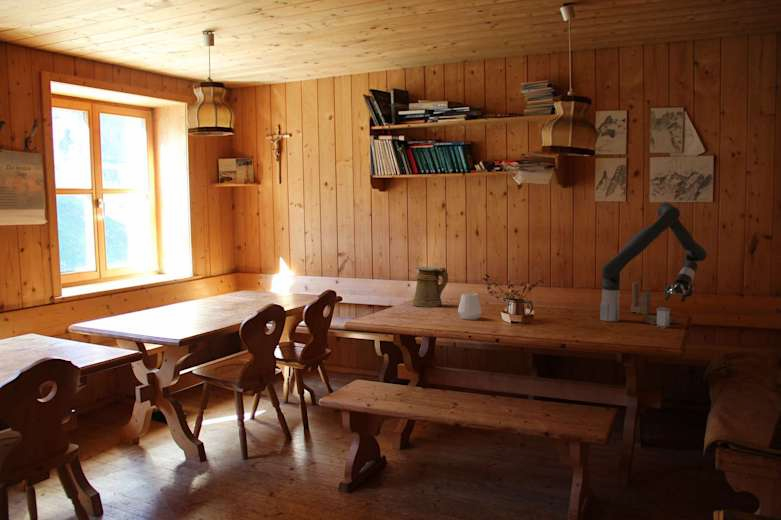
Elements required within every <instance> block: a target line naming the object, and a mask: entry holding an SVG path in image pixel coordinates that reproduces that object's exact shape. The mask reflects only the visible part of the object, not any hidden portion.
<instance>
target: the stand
mask: <svg viewBox="0 0 781 520" xmlns="http://www.w3.org/2000/svg"><path fill="white" fill-rule="evenodd" d="M643 322H646V323H645V324H647V323H650V324H649V325H652V324H657V315H655V316H644V317H642V323H643ZM669 323H674V324H676V318H674V317H672V316H669Z"/></svg>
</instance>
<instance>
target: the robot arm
mask: <svg viewBox="0 0 781 520" xmlns="http://www.w3.org/2000/svg"><path fill="white" fill-rule="evenodd" d="M657 215H658V218H657V219H656V220H655V221H654V222H653V223H652V224H650V225H648V226H646V227H644V228H641V229H640V230H639V231H637V232H636V233H635V234H634V235H633V236H632V237H631V238H629V240H628V241H627V242H626V243H625V244H624V245H623V247H622V248H621V249H620V251H619V252H618V253H617V254H616V255H615V256H613V257H612V258H611V259H610V260H608V261H605V262H604V264H603V266H602V285H601V287H602V290H601V291H602V292H601V297H602V298H601V302H600V304H599V305H600V309H599V312H600V313H599V319H600V321H603V322H619V321H620V294H621V293H620V289H621V272H622V270H623V269H624V268H625V267H626V266H627V265H628V264H629V263H630V262H631V261H632V260H633V259H635V258H636V257H638V256H639V255H640V254H641V253H642V252H643V251H644V250H645V249H647V247H649V246H650V245H651V243H653V242H654V241H655V240H656V239H657V238H659V236H660V235H661V234H662V233H664V232H665V231H666V230H667V229H670V230H671V231H672V233H673V234H674V236H675V239H677V241H678V243H679V244H680V246H681V247H682V249H683V250H685V251H686V252H685V256H684V264H683V266H682V268H681V269H680V271H679V273H678V275H677V277H676V279H675V281H674V283H673V284H671V283H668V284H667V285H666V286H665V289H664V291H663V292H664V293H665V296H664V299H665V300H666V302H667V301H669V300H670V298H671V295H675V294H682V293H683V294H682V296H681V298H680V301H681V303H684V302H686V300H687V298H688V297H692V296H693V292H694V291H695V287H694V286H693V285H692V281H694V280H693V279H694V277H695V274H696V272H697V270H698V267H699V265H698V263H699V262H703V261H706V259H707V255H708V254H707V252H706V250H705V248H704V247H703V246H701V245H700V244H699V243H698V242H696V240H695V239H694V237H693V236H692V234H691V233H690V232H689V230H688V229H687V228H686V227H685V225H684V224H683V223H682V222H681V221H680V219H679V218H680V215H681V212H680V209H679V208H677V207H676V206H675V205H674V204H671V203H668V202H663V203H661V204H660V205H659V206H658V208H657ZM697 262H698V263H697Z"/></svg>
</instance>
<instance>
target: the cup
mask: <svg viewBox="0 0 781 520" xmlns="http://www.w3.org/2000/svg"><path fill="white" fill-rule="evenodd" d="M478 295H479V294H478V293H474V292H473V293H472V292H470V293H469V292H466V293H462V294H461V297H460V301H459V305H458V307H457V309H458V310H457V313H458V314H459V316H460V318H461V319H462V320H466V321H468V320H469V321H472V320H478V319H479V317H480V316H481V314H482V307H481V302H480V300H479V299H480V298H479V296H478Z"/></svg>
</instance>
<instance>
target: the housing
mask: <svg viewBox="0 0 781 520" xmlns="http://www.w3.org/2000/svg"><path fill="white" fill-rule="evenodd" d="M655 310H656V316H657V325H655V328H659V327H662V328H661V329H668V328H667V327H669V328H670V327H671V324H669V317H670V311H671V308H669V307H663V306H662V307H660V306H659V307H657V308H655Z"/></svg>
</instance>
